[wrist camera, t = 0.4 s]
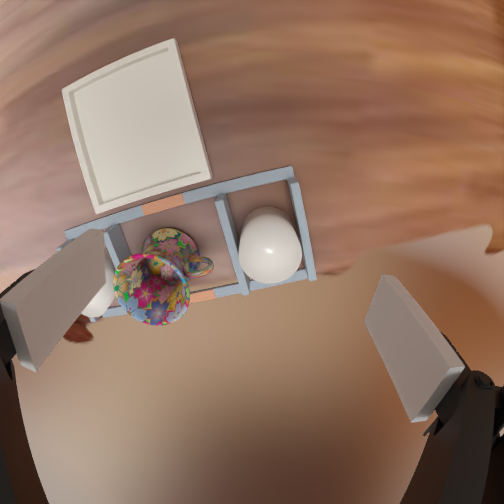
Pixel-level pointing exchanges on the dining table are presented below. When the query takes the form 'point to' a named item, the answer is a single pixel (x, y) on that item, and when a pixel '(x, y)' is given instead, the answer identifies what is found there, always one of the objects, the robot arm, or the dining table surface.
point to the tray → (136, 128)
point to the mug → (159, 277)
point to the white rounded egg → (103, 291)
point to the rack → (244, 285)
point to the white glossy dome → (269, 246)
